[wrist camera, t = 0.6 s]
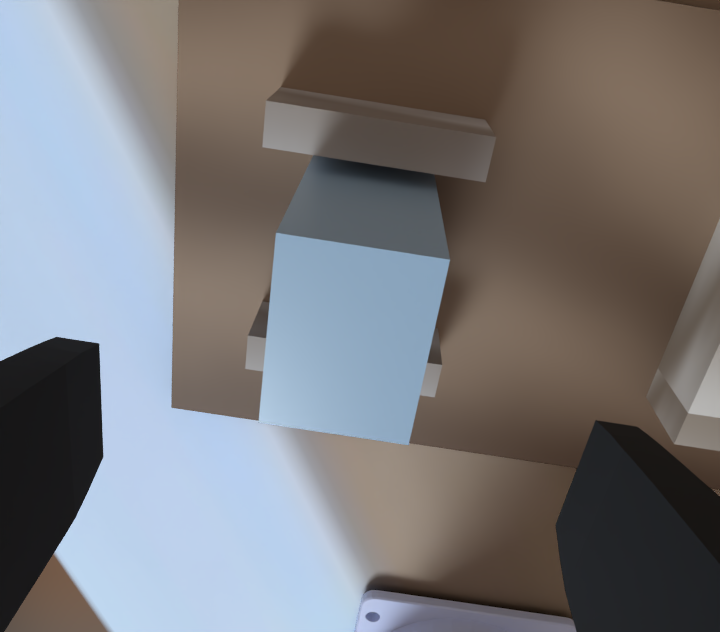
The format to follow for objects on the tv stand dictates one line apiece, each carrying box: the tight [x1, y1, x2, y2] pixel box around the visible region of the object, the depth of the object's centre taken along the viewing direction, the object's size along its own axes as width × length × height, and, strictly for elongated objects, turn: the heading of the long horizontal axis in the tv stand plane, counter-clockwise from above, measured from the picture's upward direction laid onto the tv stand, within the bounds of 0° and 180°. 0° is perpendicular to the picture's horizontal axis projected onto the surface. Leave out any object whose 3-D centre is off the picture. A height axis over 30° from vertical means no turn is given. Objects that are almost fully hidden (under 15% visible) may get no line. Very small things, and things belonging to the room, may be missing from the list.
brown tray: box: [172, 0, 720, 489], centre depth 17 cm, size 13×22×3 cm, turn 82°
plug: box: [259, 155, 450, 445], centre depth 15 cm, size 4×3×6 cm
